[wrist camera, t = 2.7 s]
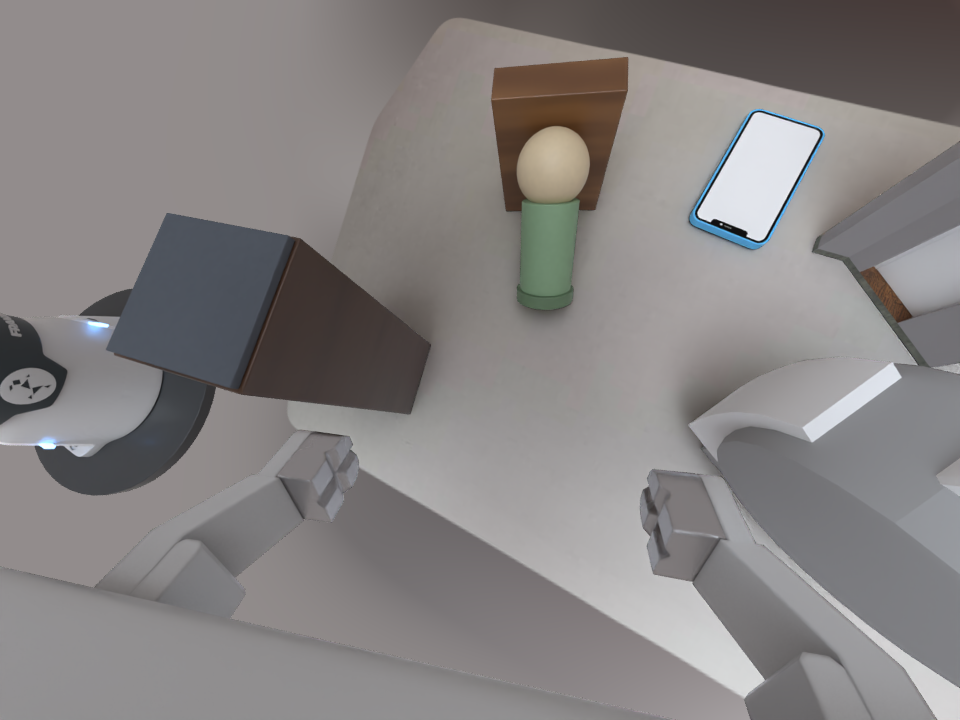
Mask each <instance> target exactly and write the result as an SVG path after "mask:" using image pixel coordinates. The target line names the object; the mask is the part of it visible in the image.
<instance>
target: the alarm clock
mask: <svg viewBox="0 0 960 720" xmlns="http://www.w3.org/2000/svg"><path fill="white" fill-rule="evenodd" d="M689 427H690V428H691V429H692V431H693V432H694V433H695V434H696V436H697V437H698V438H699V440H700V441H701V442H702V443H703V445H704V447H702V448H701V450H702V451H703V452H704V453H705V454H706V456H707V457H708V458H709V459H710V460H711V461H712V463H713V464H714V465H715V466H716V467H717V468H718V469H719V471H720V472H721V473H722V474H723V475H724V477H725V479H726V481H727V482H728V484H729V485H730V487H731V488H732V490H733V492H734V493H735V495H736V496H737V498H738V499H739V501H740V502H741V503H742V504H743V506H744V507H745V508H746V509H747V511H748V512H749V513H750V514H751V516H752V517H753V518H754V519H755V521H756V522H757V523H758V524H759V525H760V526H761V527H762V528H763V529H764V531H765V532H766V533H767V534H768V535H769V536H770V537H771V538H772V539H773V540H774V541H775V543H776V544H777V545H778V546H779V547H780V548H781V549H782V550H783V551H785V552H786V553H787V554H788V555H789V556H790V557H791V558H792V559H793V560H794V561H795V562H796V563H797V564H798V565H799V566H800V567H801V568H802V569H803V570H804V571H805V572H806V573H807V574H809V575H810V576H811V577H812V578H813V579H814V580H815V581H816V582H817V583H819V584H820V585H821V586H822V587H823V588H824V589H825V590H826V591H828V592H829V593H830V594H831V595H832V596H833V597H834V598H836V599H837V600H838V601H839V602H841V603H842V604H843V605H844V606H845V607H847V608H848V609H849V610H850V611H852V612H853V613H854V614H855V615H857V616H858V617H859V618H860V619H861V620H863V621H864V622H865V623H866V624H868V625H869V626H870V627H872V628H873V629H874V630H876V631H877V632H878V633H880V634H881V635H882V636H884V637H885V638H886V639H888V640H889V641H891V642H892V643H893V644H895V645H896V646H897V647H899V648H900V649H901V650H903V651H904V652H905V653H907V654H908V655H910V656H911V657H913V658H914V659H916V660H917V661H919V662H920V663H922V664H924V665H925V666H927V667H928V668H930V669H931V670H933V671H934V672H936V673H937V674H939V675H940V676H942V677H943V678H945V679H946V680H948V681H949V682H951V683H953V684H954V685H956V686H957V687H959V688H960V375H959V374H955V373H950V372H946V371H942V370H938V369H934V368H930V367H925V366H917V365H907V364H897V363H893V362H887V361H878V360H869V359H860V358H851V357H833V358H822V359H812V360H804V361H800V362H797V363H793V364H790V365H787V366H783V367H780V368H778V369H775V370H773V371H770V372H768V373H765V374H763V375H760V376H758V377H756V378H755V379H753V380H751V381H749V382H748V383H746V384H744V385H743V386H741V387H740V388H738V389H737V390H735V391H734V392H733V393H731V394H730V395H729V396H727V397H726V398H724V399H723V400H722V401H720V402H719V403H718V404H716V405H715V406H714V407H712V408H711V409H709V410H708V411H707V412H705V413H704V414H703V415H701V416H700V417H698V418H697V419H696V420H694V421H693V422H692V423H690V424H689Z"/></svg>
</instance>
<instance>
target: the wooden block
mask: <svg viewBox="0 0 960 720" xmlns="http://www.w3.org/2000/svg"><path fill="white" fill-rule="evenodd" d="M627 91H628V57H623V58H611V59H599V60H587V61H575V62H563V63H551V64H540V65H528V66H516V67H504V68H495V69H494V78H493V87H492V97H491V102H492V110H493V117H494V125H495V132H496V140H497V147H498V155H499V162H500V170H501V177H502V185H503V192H504V200H505V207H506V211H522V201H523V200H525V199H527V198H526V197H525V196H524V194H523V193H522V191H521V189H520V187H519V184H518V180H517V163H518V158H519V155H520V153H521V151H522V149H523V147H524V145H525V144H526V142H527V141H528V140H529V139H530V138H531V137H532V136H533V135H534V134H536V133H537V132H539V131H540V130H542V129H545V128H548V127H552V126H562V127H566V128H569V129H571V130H573V131H574V132H576V133H577V134H578V135H579V136H580V137H581V138H582V139H583V141H584V143H585V144H586V146H587V149H588V152H589V158H590V168H589V174H588V177H587V180H586V183H585V185H584V187H583V188H582V190H581V191H580V193H579V194H578V195H577V196H576V197H575V198H577V199H579V200H580V203H579V210H595V208H596V205H597V201H598V197H599V194H600V190H601V186H602V183H603V179H604V175H605V172H606V168H607V164H608V161H609V157H610V153H611V150H612V146H613V142H614V139H615V135H616V131H617V128H618V124H619V121H620V117H621V113H622V110H623V106H624V102H625V99H626V95H627Z"/></svg>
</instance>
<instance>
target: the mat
mask: <svg viewBox="0 0 960 720" xmlns="http://www.w3.org/2000/svg"><path fill="white" fill-rule="evenodd" d="M294 242H295V241H294V240H293V239H292V238H291V237H289V236H288V235H282V234H277V233H272V232H266V231H261V230H256V229H250V228H245V227H240V226H234V225H229V224H224V223H218V222H213V221H208V220H203V219H197V218H192V217H186V216H181V215H176V214H170V213H167V214H166V216H165V218H164V221H163V223H162V225H161V227H160V229H159V232H158V234H157V236H156V238H155V241H154V243H153V245H152V247H151V249H150V252H149V254H148V257H147V258H146V261H145V263H144V265H143V267H142V270H141V272H140V274H139V276H138V279H137V281H136V283H135V285H134V288H133V290H132V292H131V294H130V296H129V299H128V301H127V303H126V305H125V307H124V310H123V312H122V314H121V316H120V319H119V321H118V323H117V325H116V327H115V330H114V332H113V334H112V336H111V339H110V341H109V343H108V345H107V348H106V350H107V351H110V352H113V353H117V354H120V355H123V356H126V357H130V358H133V359H136V360H139V361H143V362H146V363H149V364H152V365H156V366H159V367H162V368H166V369H169V370H172V371H175V372H179V373H182V374H185V375H188V376H192V377H195V378H198V379H202V380H205V381H208V382H211V383H215V384H218V385H221V386H224V387H228V388H232V389H239V387H240V384H241V381H242V379H243V376H244V373H245V371H246V368H247V366H248V363H249V360H250V358H251V355H252V352H253V350H254V347H255V344H256V342H257V339H258V337H259V334H260V331H261V329H262V326H263V323H264V321H265V318H266V316H267V313H268V310H269V308H270V305H271V302H272V300H273V297H274V295H275V292H276V289H277V287H278V284H279V281H280V279H281V276H282V274H283V271H284V268H285V266H286V263H287V260H288V258H289V255H290V253H291V250H292V247H293V245H294Z"/></svg>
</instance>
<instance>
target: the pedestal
mask: <svg viewBox="0 0 960 720" xmlns="http://www.w3.org/2000/svg"><path fill="white" fill-rule="evenodd" d="M289 237H290V236H289ZM291 238H292V239H293V240H294V241H295V242H294V245H293V247H292V250H291V253H290V255H289V258H288V260H287V263H286V266H285V268H284V271H283V274H282V276H281V279H280V281H279V284H278V287H277V289H276V292H275V295H274V297H273V300H272V302H271V305H270V308H269V310H268V313H267V316H266V318H265V321H264V323H263V326H262V329H261V331H260V334H259V337H258V339H257V342H256V344H255V347H254V350H253V352H252V355H251V358H250V360H249V363H248V366H247V368H246V371H245V373H244V376H243V379H242V381H241V384H240V387H239V389H232V388H228V387H224V386H221V385H218V384H215V383H211V382H208V381H205V380H202V379H198V378H195V377H192V376H188V375H185V374H182V373H179V372H175V371H172V370H169V369H166V368H162V367H159V366H156V365H152V364H149V363H146V362H143V361H139V360H136V359H133V358H130V357H126V356H123V355H120V354H117V353H114V355H115V356H117V357H121V358H124V359H127V360H130V361H134V362H137V363H140V364H143V365H147V366H150V367H153V368H156V369H160V370H163V371H166V372H169V373H173V374H176V375H179V376H182V377H186V378H189V379H192V380H195V381H199V382H202V383H205V384H208V385H212V386H215V387H218V388H221V389H224V390H228V391H231V392H234V393H238V394H241V395H249V396H258V397H266V398H275V399H283V400H291V401H300V402H308V403H317V404H325V405H334V406H343V407H351V408H360V409H368V410H377V411H385V412H394V413H402V414H410V413H411V409H412V406H413V403H414V399H415V396H416V393H417V389H418V386H419V383H420V379H421V376H422V373H423V369H424V366H425V363H426V359H427V356H428V353H429V349H430V346H431V344H430V343H428V342H427V341H426V340H425V339H424V338H422V337H421V336H420V335H419V334H417V333H416V332H415V331H414V330H412V329H411V328H410V327H409V326H408V325H406V324H405V323H404V322H403V321H401V320H400V319H399V318H398V317H396V316H395V315H394V314H393V313H392V312H390V311H389V310H388V309H387V308H385V307H384V306H383V305H382V304H380V303H379V302H378V301H377V300H376V299H374V298H373V297H372V296H371V295H369V294H368V293H367V292H366V291H364V290H363V289H362V288H361V287H359V286H358V285H357V284H356V283H355V282H353V281H352V280H351V279H350V278H348V277H347V276H346V275H345V274H343V273H342V272H341V271H340V270H339V269H337V268H336V267H335V266H334V265H332V264H331V263H330V262H329V261H327V260H326V259H325V258H324V257H322V256H321V255H320V254H319V253H318V252H316V251H315V250H314V249H313V248H311V247H310V246H309V245H308V244H306V243H305V242H304V241H303V240H302V239H300V238H296V237H291Z"/></svg>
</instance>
